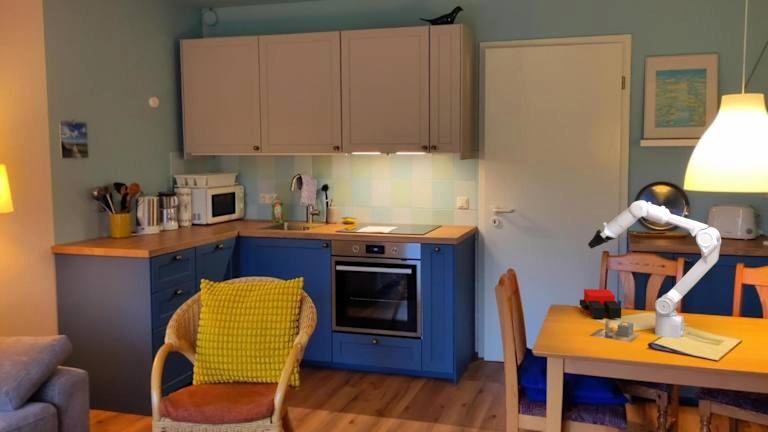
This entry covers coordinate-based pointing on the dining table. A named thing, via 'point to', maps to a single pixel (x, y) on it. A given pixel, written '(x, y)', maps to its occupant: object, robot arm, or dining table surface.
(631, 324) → the block
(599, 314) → the red-and-black block model
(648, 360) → the dining table surface
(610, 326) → the tan capsule cylinder
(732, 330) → the dining table surface
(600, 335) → the subfloor panel
